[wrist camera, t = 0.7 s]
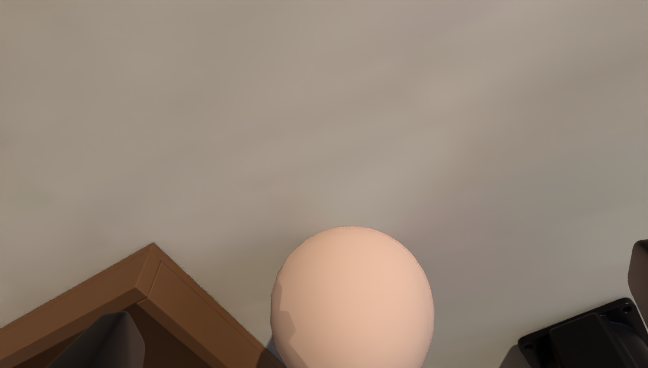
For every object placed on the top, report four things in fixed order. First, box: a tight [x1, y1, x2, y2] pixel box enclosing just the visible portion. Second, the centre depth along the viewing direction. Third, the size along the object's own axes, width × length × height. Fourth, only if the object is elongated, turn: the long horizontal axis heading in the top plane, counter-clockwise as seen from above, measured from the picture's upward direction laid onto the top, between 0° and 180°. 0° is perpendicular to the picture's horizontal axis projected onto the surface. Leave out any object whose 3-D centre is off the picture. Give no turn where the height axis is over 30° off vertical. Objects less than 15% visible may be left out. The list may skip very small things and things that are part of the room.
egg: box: [270, 226, 434, 368], centre depth 23 cm, size 7×7×8 cm
